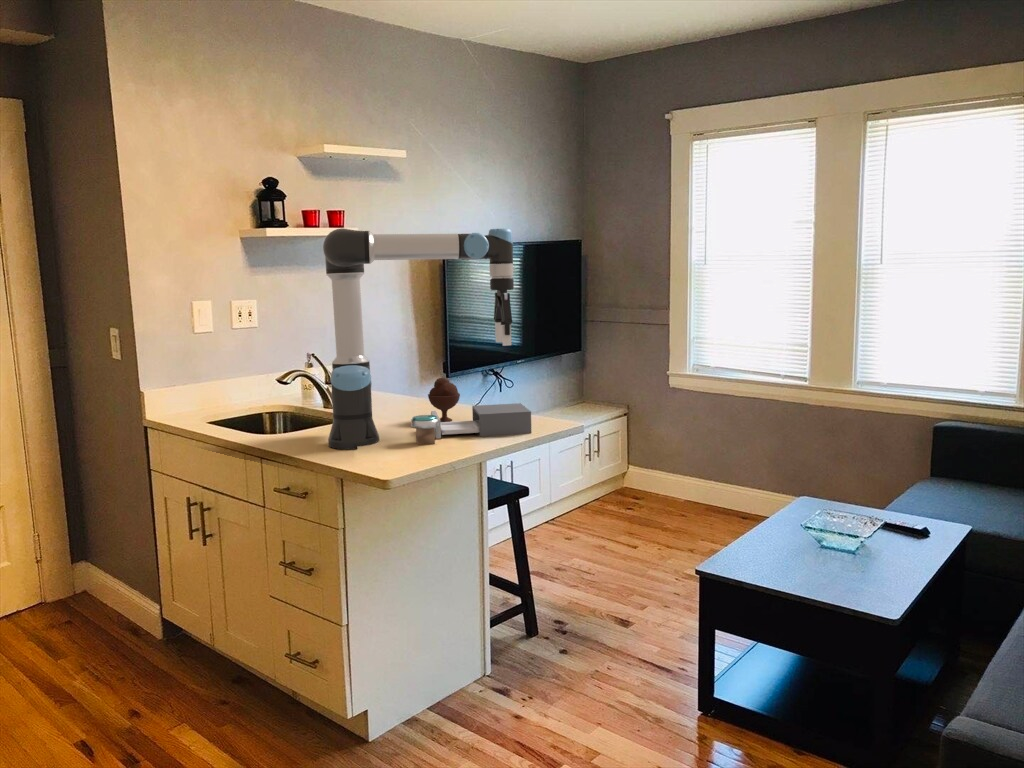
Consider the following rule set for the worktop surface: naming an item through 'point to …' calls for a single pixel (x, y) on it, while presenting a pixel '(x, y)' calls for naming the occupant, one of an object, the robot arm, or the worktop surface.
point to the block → (425, 436)
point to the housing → (502, 419)
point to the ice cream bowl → (444, 397)
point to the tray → (455, 427)
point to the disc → (424, 421)
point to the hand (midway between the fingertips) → (503, 343)
